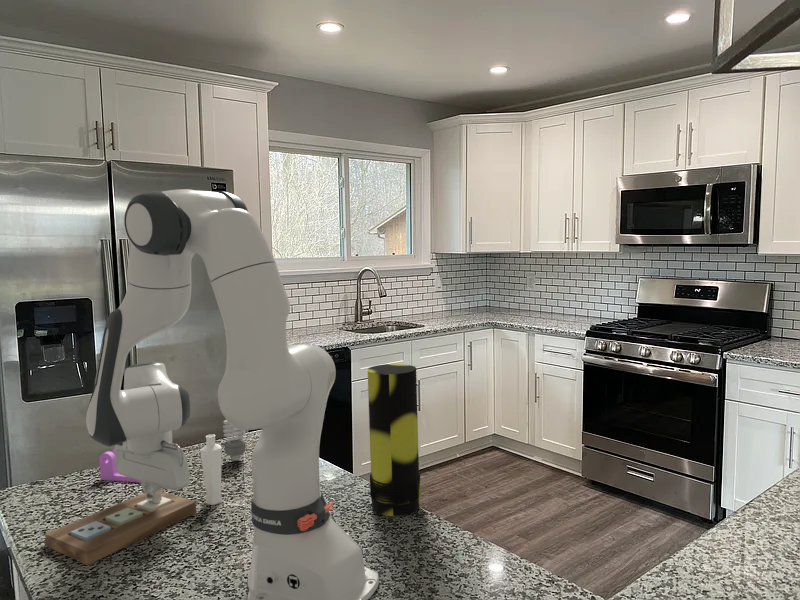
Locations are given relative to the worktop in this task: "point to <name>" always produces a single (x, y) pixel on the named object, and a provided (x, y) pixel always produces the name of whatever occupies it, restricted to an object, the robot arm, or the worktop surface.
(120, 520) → the tile
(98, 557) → the dice board
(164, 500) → the tile
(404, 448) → the container
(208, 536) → the worktop surface
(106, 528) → the tile
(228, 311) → the robot arm
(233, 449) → the light bulb
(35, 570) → the worktop surface
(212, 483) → the white faceted bottle
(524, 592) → the worktop surface
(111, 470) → the bracket
